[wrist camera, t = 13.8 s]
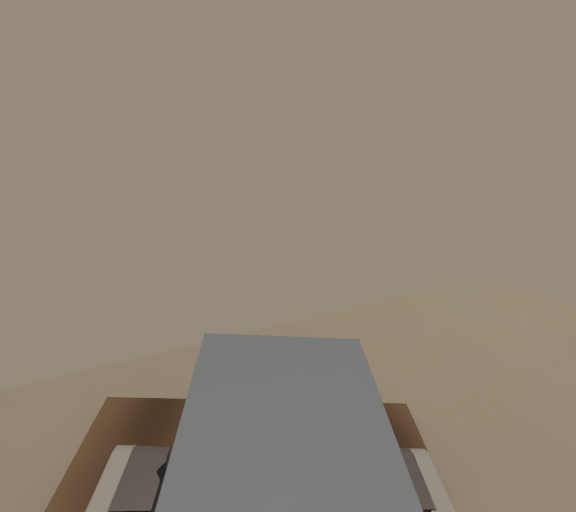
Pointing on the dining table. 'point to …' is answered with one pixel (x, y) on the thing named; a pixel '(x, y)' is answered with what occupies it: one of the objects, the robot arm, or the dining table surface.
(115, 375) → the dining table surface
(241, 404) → the grey peg
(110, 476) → the robot arm
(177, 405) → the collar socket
